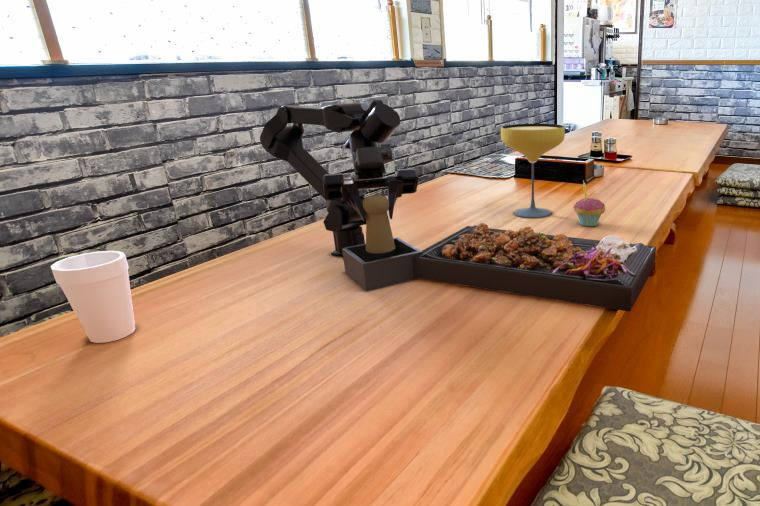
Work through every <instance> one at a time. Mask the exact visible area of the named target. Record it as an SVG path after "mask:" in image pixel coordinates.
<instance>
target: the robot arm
mask: <svg viewBox="0 0 760 506" xmlns="http://www.w3.org/2000/svg"><path fill="white" fill-rule="evenodd" d="M289 124H292V125H289ZM304 125H311V126H312V125H313V126H321V127H325V129H327V131H331V132H334V133H338V134H340V133H348V132H351V133H350V134H349V135H348V139H347V140H346V142H345V145H344V148H345V149H348V150H350V155H351V159H352V164H353V170H354V175H355V178H354V177H352V176H351V177H344V174H343V173H341V172H340V173H329V171H328V170H326V168H324V167H323V166H322V164H320V162H318V160H317V159H315V157H313V156H312V155H311V154H310V152H308V150H306V148H305V147H304V138H303V135H304V134H305V129H304ZM400 125H401V116H400V115H399V112H398V111H397V110H395V109H394V108H393V107H391V106H389V105H388V104H386V103H384V101H383V100H382V99H373V100H372V101H371V103H370V105H369V107H368V108H367V109H364V108H363V107H362V105H361V104H360V103H358V102H348V103H347V102H345V103H336V104H335V103H334V104H329V105H324V106H312V105H300V104H286V105H281V106H280V107H279V108H278V109H277V111H276V113H275V114H274V115H273V116H272V117H271V118H270V119H269V120H268V121H267V122H266V123H265V124H264V126H263V128H262V131H261V133H260V135H259V142H260V145H261V146H262V148H263V149H264V151H266V152H267V153H268V154H270V155H271V156H272V157H273V158H276V159H278V160H281V161H284V162H287V163H288V164H289V165H290V166H291V167H292V168H293V169H294V170H295V171H296V172H297V174H299V175H300V177H302V178H303V179H304V180H305V181H306V182H307V183H308V184H309V186H311V188H313V189H314V190H315V191H316V193H318V194H319V196H321V197H322V198H323V200H324V201H325V207H326V211H327V215H326V216H325V218H324V219H323V225H324V228H325V230H326V231H329V232H332V235H333V242H334V249H335V250H332V251H331V252H330V254H331V255H334V256H341V257H343V252H342V248H345V247H350V246H355V245H361V244H366V238H365V234H364V233H363V227H362V226H366V215H367V213H366V212H365V211H364V208H363V200H364V199H365V198H366V197H365V196H366V194H364V193H362V192H361V191H360V190H371V189H382V188H383V189H385V188H387V199H388V201H389V210H388V218H389V220H393V217H394V216H393V215H394V212H395V211H394V210H395V206H396V202H397V200H398V198H402V197H403V195H410V194H415V193H417V190H418V185H419V173H418V171H417V170H416V169H415V168H413V167H411V168H398V169H396V176H385V174H386V167H385V163H392V161H393V150H392V145H391V144H390V143H386V144H384V143H385V142H386V141H387V140H388V139H389V138H390V137H391V135H392V134H393V133H394V132H395V130H396V129H397V128H398V127H399V126H400ZM379 144H381V145H380V146H379Z"/></svg>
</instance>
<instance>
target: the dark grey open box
mask: <svg viewBox="0 0 760 506" xmlns="http://www.w3.org/2000/svg"><path fill="white" fill-rule="evenodd" d="M393 239H394V244H395V249H394V250H392V251H390V252H386V253H369V252H367V251H366V243H365V244H361V245H355V246H350V247H345V248H342V252H343V256H342V258H343V266H344V273H345V274H346V275H347V276H348V277H349V278H351V280H353V281H354V282H355V283H357V284H358V285H359V286H360V287H361V288H362V289H364V291H366V292H368V291H372V290H376V289H381V288H384V287H389V286H393V285H398V284H401V283H406V282H410V281H414V280H418V279H419V278H415V277H414V274H413V263H412V257H413V256H417V257H420V255H422V254H423V251H422V250H421V249H419V248H418V247H416V246H414V245H413V244H410V242H407V241H405V240H403V239H402V238H400V237H398V236H397V237H393Z"/></svg>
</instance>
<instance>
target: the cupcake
mask: <svg viewBox="0 0 760 506" xmlns="http://www.w3.org/2000/svg"><path fill="white" fill-rule="evenodd" d="M582 189H583V196H584V198H581V199H579V200H577V201H576V202H575V203H574V205H573V209H574V210H573V211H574V212H575V213H576V215H577V218H578V221H579V224H580V225H581V226H583V227H596V226H597V225H598V224H599V221H600V218H601V216H602V214H604V213H605V212H606V205H605V203H604V202H603V201H601V200H600V199H597V198H592V197H591V198H590V197H588V193H587V183H586V182H585V180H584V179H583V180H582Z"/></svg>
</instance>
